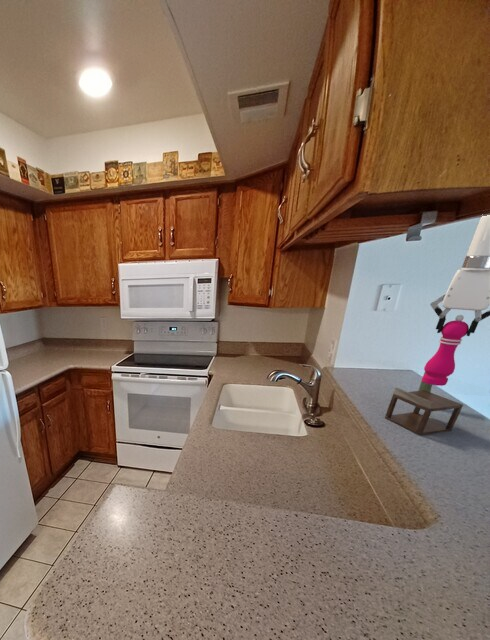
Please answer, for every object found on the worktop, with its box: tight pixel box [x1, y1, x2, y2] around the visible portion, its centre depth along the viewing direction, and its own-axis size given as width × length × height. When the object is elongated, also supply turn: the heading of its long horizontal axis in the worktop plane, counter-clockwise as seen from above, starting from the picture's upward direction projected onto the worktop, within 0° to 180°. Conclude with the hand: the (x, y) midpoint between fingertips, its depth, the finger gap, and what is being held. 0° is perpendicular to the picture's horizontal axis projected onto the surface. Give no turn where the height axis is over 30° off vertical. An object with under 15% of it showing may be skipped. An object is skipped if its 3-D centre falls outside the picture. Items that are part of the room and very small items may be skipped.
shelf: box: [384, 387, 464, 436], centre depth 106 cm, size 13×13×11 cm
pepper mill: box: [421, 314, 470, 387], centre depth 97 cm, size 7×7×20 cm
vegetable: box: [417, 371, 433, 393], centre depth 118 cm, size 4×4×20 cm
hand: (453, 333), depth 95 cm, fingers closed on pepper mill, 6 cm apart
